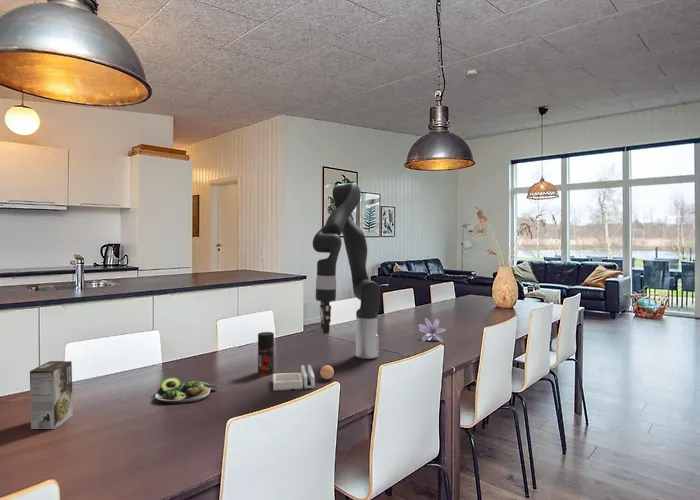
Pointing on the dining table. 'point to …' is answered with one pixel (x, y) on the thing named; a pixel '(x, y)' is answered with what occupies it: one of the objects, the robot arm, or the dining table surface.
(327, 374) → the ball
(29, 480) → the dining table surface
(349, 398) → the dining table surface
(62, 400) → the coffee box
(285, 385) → the dish
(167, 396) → the salad plate
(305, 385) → the grey grooved channel
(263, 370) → the deodorant
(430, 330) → the water lily
